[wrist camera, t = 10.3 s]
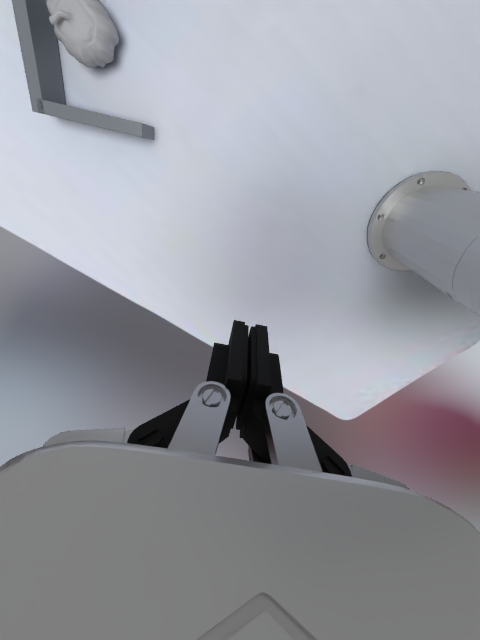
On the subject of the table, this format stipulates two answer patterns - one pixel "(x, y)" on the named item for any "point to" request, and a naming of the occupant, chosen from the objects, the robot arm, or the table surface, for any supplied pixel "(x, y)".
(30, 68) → the box
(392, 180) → the table surface
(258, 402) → the robot arm
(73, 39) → the garlic
